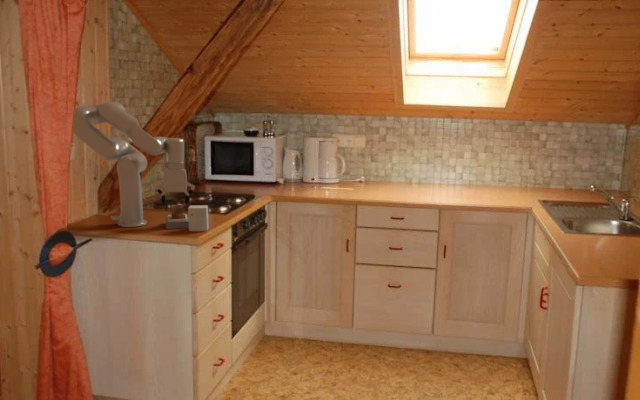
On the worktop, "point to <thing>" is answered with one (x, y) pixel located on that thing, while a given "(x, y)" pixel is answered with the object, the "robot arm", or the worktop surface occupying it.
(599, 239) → the worktop surface
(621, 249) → the worktop surface
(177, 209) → the walnut brick
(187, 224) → the grey open tray
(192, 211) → the small box
